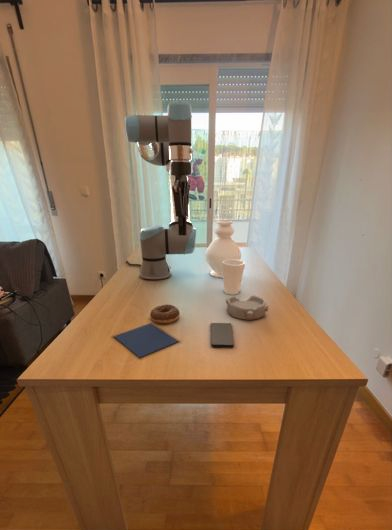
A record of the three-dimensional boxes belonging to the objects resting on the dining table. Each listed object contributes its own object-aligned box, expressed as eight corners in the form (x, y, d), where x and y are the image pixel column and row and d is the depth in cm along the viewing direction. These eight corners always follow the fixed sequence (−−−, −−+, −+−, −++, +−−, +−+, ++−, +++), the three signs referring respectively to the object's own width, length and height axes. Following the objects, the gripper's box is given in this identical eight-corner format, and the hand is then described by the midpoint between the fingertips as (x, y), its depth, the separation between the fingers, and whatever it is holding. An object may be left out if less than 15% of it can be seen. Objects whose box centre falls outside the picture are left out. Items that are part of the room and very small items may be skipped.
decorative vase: (230, 267, 156) (233, 218, 143) (245, 277, 142) (250, 223, 128) (200, 270, 151) (200, 219, 138) (212, 281, 137) (213, 225, 124)
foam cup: (241, 296, 120) (244, 266, 113) (219, 295, 122) (221, 264, 115) (242, 288, 128) (245, 259, 121) (222, 287, 130) (223, 258, 123)
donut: (181, 324, 99) (180, 314, 96) (150, 326, 97) (149, 315, 95) (178, 311, 107) (178, 301, 105) (150, 313, 106) (149, 303, 104)
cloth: (113, 337, 91) (113, 336, 91) (150, 324, 99) (150, 323, 99) (139, 358, 81) (139, 357, 81) (178, 341, 89) (178, 341, 88)
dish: (220, 309, 109) (221, 297, 107) (251, 303, 114) (252, 291, 111) (240, 325, 98) (241, 311, 95) (273, 318, 103) (275, 305, 100)
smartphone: (230, 322, 98) (234, 345, 85) (230, 325, 98) (233, 347, 85) (210, 322, 98) (211, 344, 85) (210, 324, 98) (210, 347, 85)
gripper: (184, 161, 90) (186, 238, 103) (196, 162, 101) (196, 232, 113) (163, 161, 92) (167, 237, 105) (177, 162, 102) (179, 231, 115)
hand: (182, 234), depth 109 cm, fingers closed
